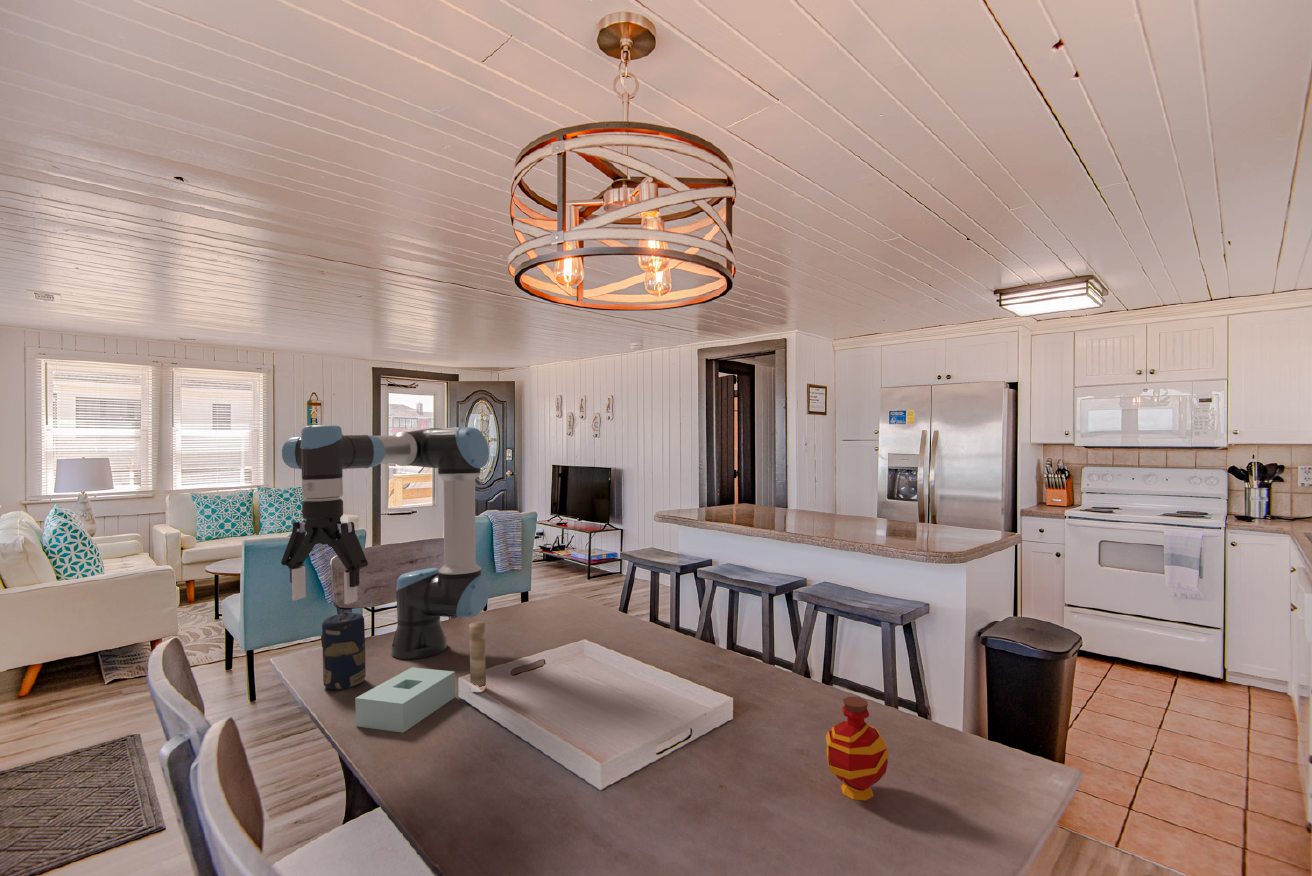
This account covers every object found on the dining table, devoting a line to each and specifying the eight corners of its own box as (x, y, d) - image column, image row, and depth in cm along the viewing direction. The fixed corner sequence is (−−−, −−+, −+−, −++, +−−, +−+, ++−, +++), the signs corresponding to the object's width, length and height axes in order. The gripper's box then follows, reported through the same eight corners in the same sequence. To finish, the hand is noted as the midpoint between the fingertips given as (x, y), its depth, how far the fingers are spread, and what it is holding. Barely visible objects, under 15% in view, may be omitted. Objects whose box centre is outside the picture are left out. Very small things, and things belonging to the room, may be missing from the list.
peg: (475, 686, 149) (474, 621, 149) (488, 687, 148) (487, 622, 148) (467, 692, 145) (466, 625, 145) (480, 693, 144) (479, 626, 144)
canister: (373, 677, 156) (372, 607, 156) (351, 692, 146) (350, 618, 146) (338, 677, 156) (337, 607, 157) (314, 692, 147) (313, 618, 147)
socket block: (412, 692, 146) (411, 667, 146) (455, 697, 142) (454, 671, 142) (355, 726, 128) (355, 698, 128) (403, 732, 125) (402, 703, 125)
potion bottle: (883, 817, 94) (881, 721, 94) (817, 797, 99) (815, 706, 100) (896, 784, 103) (894, 696, 103) (835, 768, 108) (833, 684, 108)
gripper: (260, 500, 126) (262, 601, 126) (357, 501, 119) (359, 609, 119) (291, 496, 133) (293, 593, 133) (385, 497, 126) (386, 599, 126)
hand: (324, 600), depth 126 cm, fingers open, 13 cm apart
